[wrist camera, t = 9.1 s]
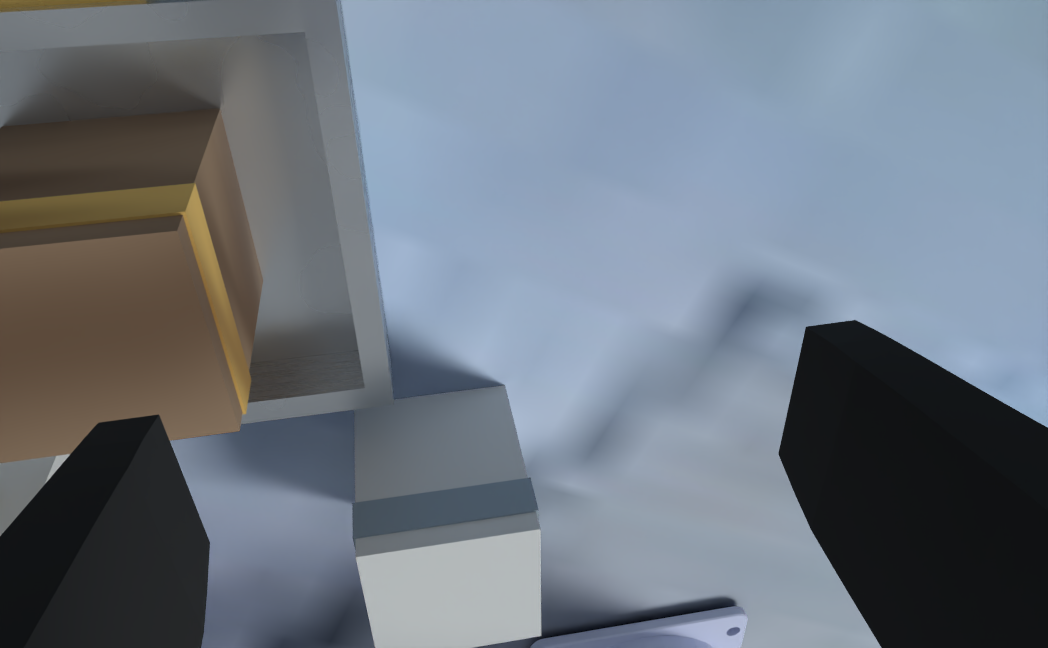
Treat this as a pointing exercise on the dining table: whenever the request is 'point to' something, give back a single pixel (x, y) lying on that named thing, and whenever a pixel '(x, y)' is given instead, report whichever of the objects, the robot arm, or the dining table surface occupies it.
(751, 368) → the dining table surface
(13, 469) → the label plate
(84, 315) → the walnut block
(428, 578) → the grey block
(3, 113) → the parts tray
